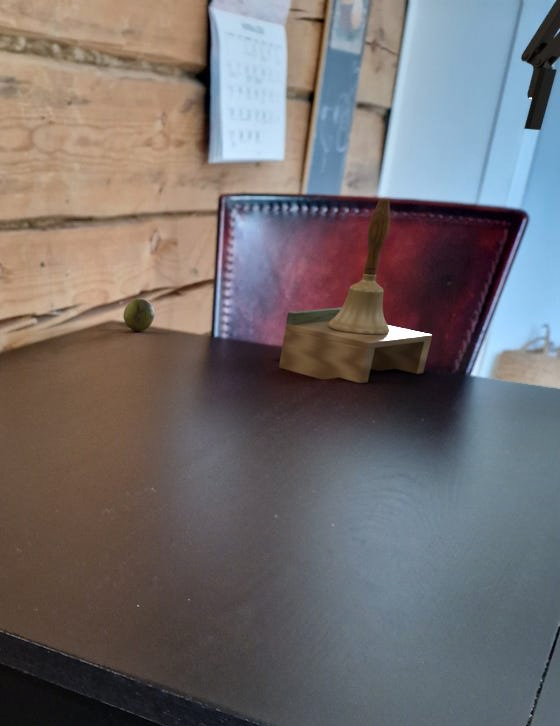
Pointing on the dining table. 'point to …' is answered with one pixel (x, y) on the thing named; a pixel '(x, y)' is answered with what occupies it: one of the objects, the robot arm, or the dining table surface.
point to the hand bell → (367, 284)
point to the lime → (138, 315)
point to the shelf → (347, 348)
